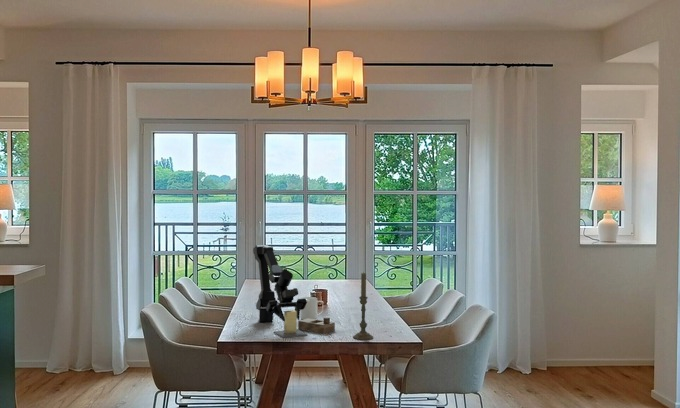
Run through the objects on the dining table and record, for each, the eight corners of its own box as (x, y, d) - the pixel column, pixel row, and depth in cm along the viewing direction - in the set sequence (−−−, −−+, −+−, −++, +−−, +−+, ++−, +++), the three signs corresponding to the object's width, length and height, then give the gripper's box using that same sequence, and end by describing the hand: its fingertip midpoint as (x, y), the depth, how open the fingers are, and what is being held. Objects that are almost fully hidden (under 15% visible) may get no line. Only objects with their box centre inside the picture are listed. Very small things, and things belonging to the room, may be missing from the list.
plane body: (298, 329, 295) (298, 315, 295) (308, 326, 301) (308, 313, 301) (324, 333, 285) (324, 319, 285) (334, 330, 292) (334, 317, 292)
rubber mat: (273, 332, 286) (273, 331, 286) (297, 330, 292) (297, 329, 292) (283, 338, 275) (283, 336, 275) (307, 335, 281) (307, 334, 281)
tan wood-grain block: (284, 332, 284) (284, 311, 284) (294, 331, 286) (294, 310, 286) (286, 333, 281) (286, 312, 281) (296, 332, 283) (296, 311, 283)
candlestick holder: (372, 335, 282) (372, 270, 282) (374, 340, 273) (374, 273, 273) (352, 335, 282) (353, 270, 282) (353, 340, 273) (354, 272, 272)
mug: (299, 321, 314) (299, 299, 313) (300, 317, 322) (301, 296, 322) (323, 321, 314) (323, 299, 313) (323, 318, 322) (323, 297, 322)
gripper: (268, 283, 283) (277, 311, 273) (305, 281, 291) (315, 308, 281) (262, 298, 290) (270, 325, 280) (298, 295, 298) (308, 322, 288)
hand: (291, 320), depth 282 cm, fingers open, 7 cm apart
